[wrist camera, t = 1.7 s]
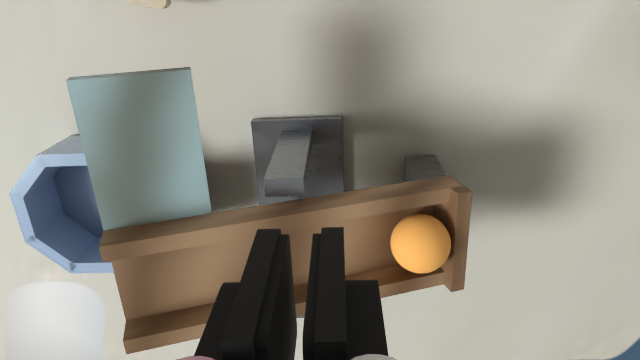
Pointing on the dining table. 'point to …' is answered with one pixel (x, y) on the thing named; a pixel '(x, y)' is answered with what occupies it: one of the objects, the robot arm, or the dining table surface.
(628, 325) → the dining table surface
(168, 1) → the popsicle
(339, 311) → the robot arm
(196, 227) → the lever
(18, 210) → the cup
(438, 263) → the ball
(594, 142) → the dining table surface
